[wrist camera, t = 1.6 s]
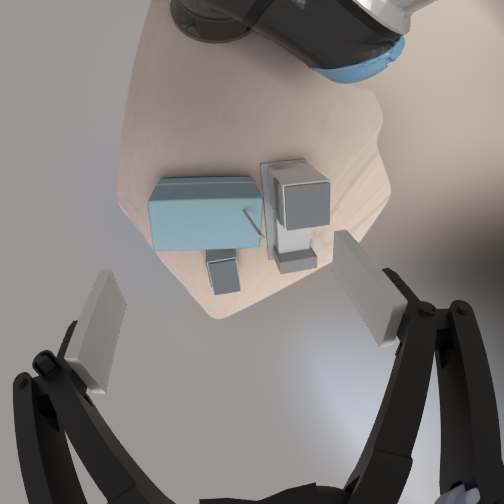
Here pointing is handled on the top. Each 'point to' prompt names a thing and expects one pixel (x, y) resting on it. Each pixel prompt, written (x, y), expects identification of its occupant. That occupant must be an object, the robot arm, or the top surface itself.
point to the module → (223, 270)
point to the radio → (205, 214)
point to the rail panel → (267, 204)
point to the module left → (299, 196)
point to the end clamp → (295, 260)
